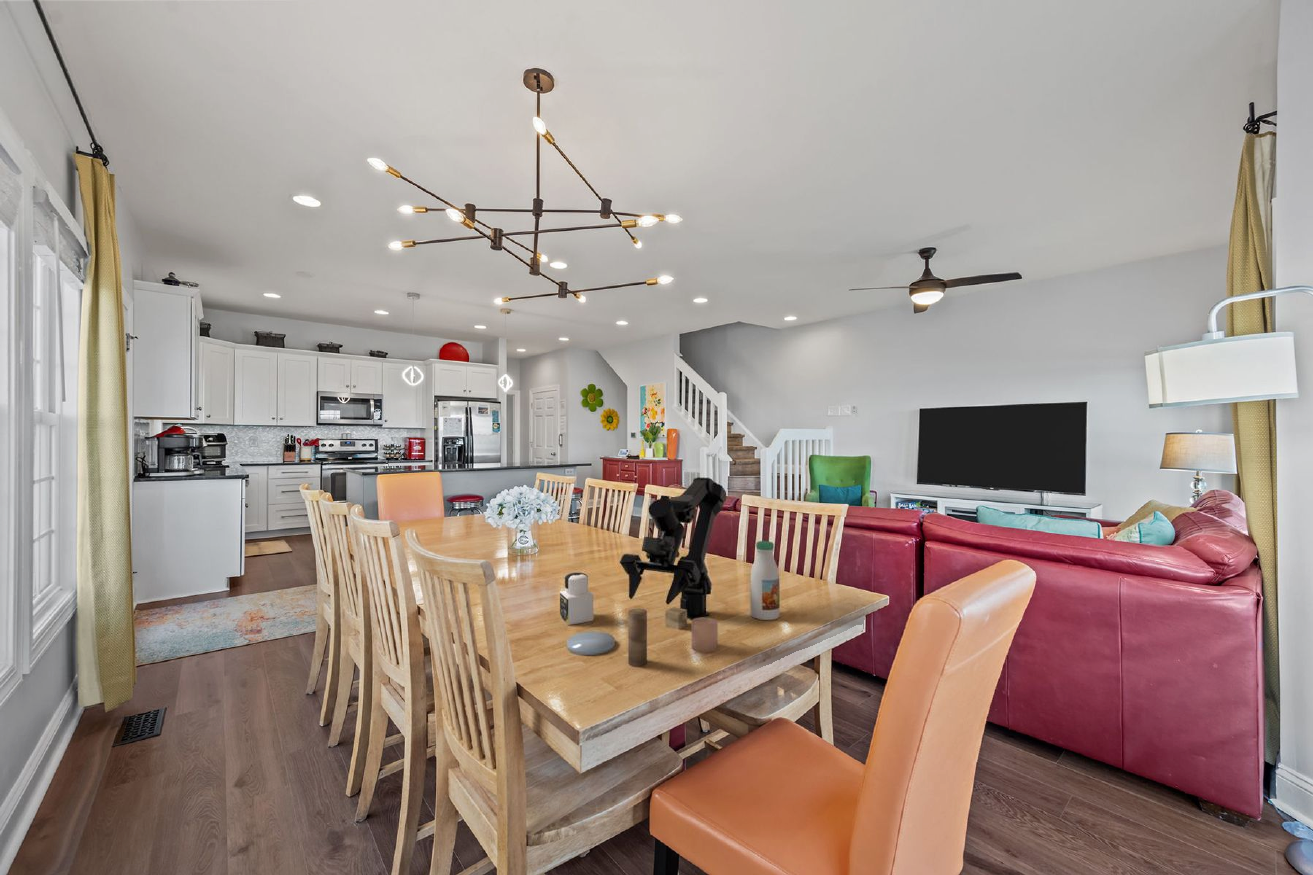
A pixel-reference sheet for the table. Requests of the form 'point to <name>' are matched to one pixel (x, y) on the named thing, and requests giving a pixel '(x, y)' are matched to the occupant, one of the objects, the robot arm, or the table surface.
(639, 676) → the table surface
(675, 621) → the oak block
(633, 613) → the brown cylinder
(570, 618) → the medicine bottle
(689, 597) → the robot arm
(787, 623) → the table surface
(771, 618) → the milk bottle
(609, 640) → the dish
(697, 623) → the short mauve cylinder
